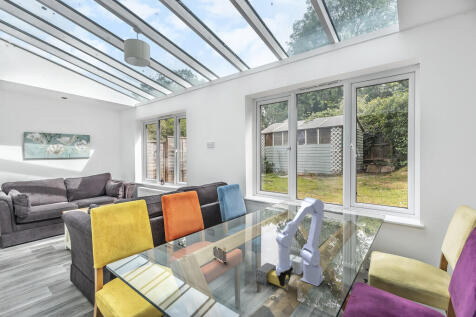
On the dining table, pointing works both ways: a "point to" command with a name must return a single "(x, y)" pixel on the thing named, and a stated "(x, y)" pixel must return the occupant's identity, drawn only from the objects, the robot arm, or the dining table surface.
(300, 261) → the supplement box
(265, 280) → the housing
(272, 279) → the end cover
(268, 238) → the dining table surface
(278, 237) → the robot arm
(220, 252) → the ruin model on sheet
